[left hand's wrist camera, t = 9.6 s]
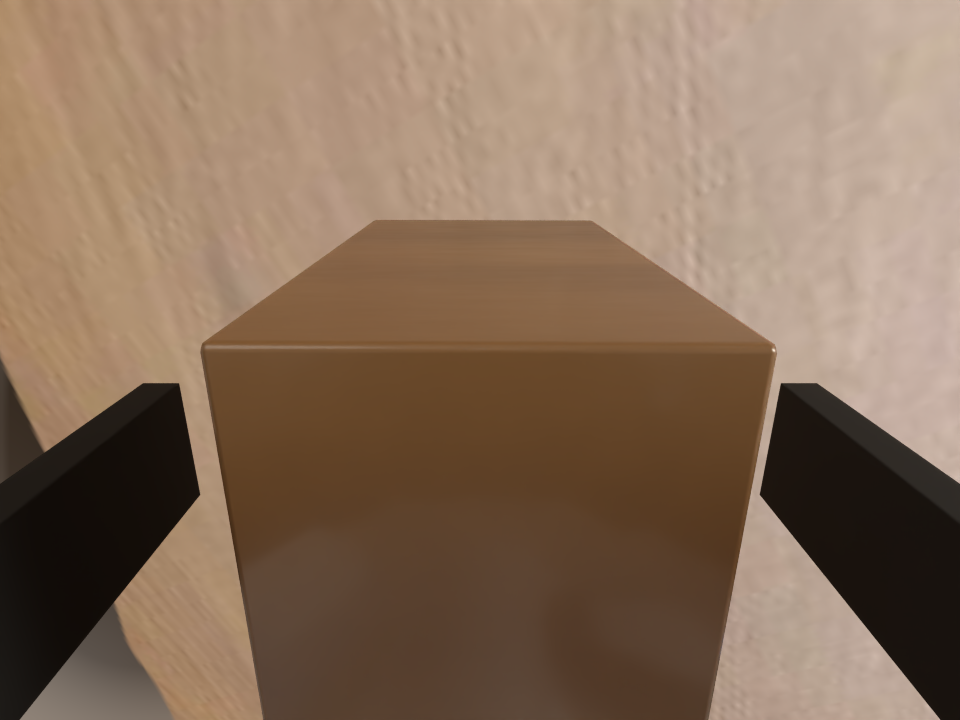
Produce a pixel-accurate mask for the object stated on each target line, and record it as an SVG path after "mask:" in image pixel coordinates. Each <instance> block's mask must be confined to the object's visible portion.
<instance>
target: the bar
mask: <svg viewBox="0 0 960 720" xmlns="http://www.w3.org/2000/svg"><path fill="white" fill-rule="evenodd" d="M776 355H777V352H776V347H775V344H773V343H772V342H770V341H769V340H767V339H766V338H764V337H763V336H761V335H760V334H758V333H757V332H755V331H754V330H753V329H751V328H750V327H748V326H747V325H745V324H744V323H742V322H741V321H739V320H738V319H736V318H735V317H733V316H732V315H730V314H729V313H727V312H726V311H724V310H723V309H721V308H720V307H719V306H717V305H716V304H714V303H713V302H711V301H710V300H708V299H707V298H705V297H704V296H702V295H701V294H699V293H698V292H696V291H695V290H693V289H692V288H690V287H689V286H687V285H686V284H685V283H683V282H682V281H680V280H679V279H677V278H676V277H674V276H673V275H671V274H670V273H668V272H667V271H665V270H664V269H662V268H661V267H659V266H658V265H656V264H655V263H653V262H652V261H651V260H649V259H648V258H646V257H645V256H643V255H642V254H640V253H639V252H637V251H636V250H634V249H633V248H631V247H630V246H628V245H627V244H625V243H624V242H622V241H621V240H620V239H618V238H617V237H615V236H614V235H612V234H611V233H609V232H608V231H606V230H605V229H603V228H602V227H600V226H599V225H597V224H596V223H594V222H593V221H510V220H375V221H373V222H372V223H370V224H369V225H368V226H366V227H365V228H363V229H362V230H361V231H359V232H358V233H356V234H355V235H354V236H352V237H351V238H349V239H348V240H347V241H345V242H344V243H342V244H341V245H340V246H338V247H337V248H335V249H334V250H333V251H331V252H330V253H328V254H327V255H326V256H324V257H323V258H321V259H320V260H319V261H317V262H316V263H314V264H313V265H311V266H310V267H309V268H307V269H306V270H304V271H303V272H302V273H300V274H299V275H297V276H296V277H295V278H293V279H292V280H290V281H289V282H288V283H286V284H285V285H283V286H282V287H281V288H279V289H278V290H276V291H275V292H274V293H272V294H271V295H269V296H268V297H267V298H265V299H264V300H262V301H261V302H260V303H258V304H257V305H255V306H254V307H253V308H251V309H250V310H248V311H247V312H245V313H244V314H243V315H241V316H240V317H238V318H237V319H236V320H234V321H233V322H231V323H230V324H229V325H227V326H226V327H224V328H223V329H222V330H220V331H219V332H217V333H216V334H215V335H213V336H212V337H210V338H209V339H208V340H206V341H205V342H203V343H202V346H201V358H202V364H203V369H204V375H205V381H206V387H207V393H208V399H209V404H210V410H211V416H212V422H213V428H214V434H215V439H216V445H217V451H218V457H219V463H220V469H221V475H222V480H223V486H224V492H225V498H226V504H227V510H228V515H229V521H230V527H231V533H232V539H233V545H234V550H235V556H236V562H237V568H238V574H239V580H240V585H241V591H242V597H243V603H244V609H245V615H246V621H247V626H248V632H249V638H250V644H251V650H252V656H253V661H254V667H255V673H256V679H257V685H258V691H259V696H260V702H261V708H262V714H263V720H708V718H709V713H710V707H711V702H712V697H713V691H714V686H715V680H716V675H717V670H718V664H719V659H720V654H721V648H722V643H723V638H724V632H725V627H726V622H727V616H728V611H729V606H730V600H731V595H732V590H733V584H734V579H735V574H736V568H737V563H738V558H739V552H740V547H741V542H742V536H743V531H744V526H745V520H746V515H747V510H748V504H749V499H750V494H751V488H752V483H753V478H754V472H755V467H756V462H757V456H758V451H759V446H760V440H761V435H762V430H763V424H764V419H765V413H766V408H767V403H768V397H769V392H770V387H771V381H772V376H773V371H774V365H775V360H776Z"/></svg>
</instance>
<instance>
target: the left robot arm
mask: <svg viewBox="0 0 960 720" xmlns="http://www.w3.org/2000/svg"><path fill="white" fill-rule="evenodd" d="M199 496H200V491H199V486H198V481H197V475H196V470H195V465H194V460H193V454H192V449H191V444H190V438H189V433H188V428H187V423H186V417H185V412H184V407H183V402H182V396H181V391H180V386H179V383H143V384H141V385H140V386H139V387H137V388H136V389H134V390H133V391H132V392H130V393H129V394H127V395H126V396H124V397H123V398H122V399H120V400H119V401H117V402H116V403H114V404H113V405H112V406H110V407H109V408H107V409H106V410H105V411H103V412H102V413H100V414H99V415H97V416H96V417H95V418H93V419H92V420H90V421H89V422H87V423H86V424H85V425H83V426H82V427H80V428H79V429H78V430H76V431H75V432H73V433H72V434H70V435H69V436H68V437H66V438H65V439H63V440H62V441H60V442H59V443H58V444H56V445H55V446H53V447H52V448H51V449H49V450H48V451H46V452H45V453H43V454H42V455H41V456H39V457H38V458H36V459H35V460H33V461H32V462H31V463H29V464H28V465H26V466H25V467H24V468H22V469H21V470H19V471H18V472H16V473H15V474H14V475H12V476H11V477H9V478H8V479H6V480H5V481H4V482H2V483H1V484H0V720H20V718H21V717H22V716H23V715H24V713H25V712H26V711H27V710H28V708H29V707H30V706H31V705H32V704H33V702H34V701H35V700H36V699H37V697H38V696H39V695H40V694H41V692H42V691H43V690H44V689H45V687H46V686H47V685H48V684H49V682H50V681H51V680H52V679H53V677H54V676H55V675H56V674H57V672H58V671H59V670H60V669H61V667H62V666H63V665H64V664H65V662H66V661H67V660H68V659H69V657H70V656H71V655H72V654H73V652H74V651H75V650H76V649H77V647H78V646H79V645H80V644H81V642H82V641H83V640H84V639H85V638H86V636H87V635H88V634H89V632H90V631H91V630H92V629H93V628H94V626H95V625H96V624H97V623H98V621H99V620H100V619H101V618H102V616H103V615H104V614H105V613H106V611H107V610H108V609H109V608H110V606H111V605H112V604H113V603H114V601H115V600H116V599H117V598H118V596H119V595H120V594H121V593H122V591H123V590H124V589H125V588H126V586H127V585H128V584H129V583H130V581H131V580H132V579H133V578H134V576H135V575H136V574H137V573H138V572H139V570H140V569H141V568H142V567H143V565H144V564H145V563H146V562H147V560H148V559H149V558H150V557H151V555H152V554H153V553H154V552H155V550H156V549H157V548H158V547H159V545H160V544H161V543H162V542H163V540H164V539H165V538H166V537H167V535H168V534H169V533H170V532H171V530H172V529H173V528H174V527H175V525H176V524H177V523H178V522H179V520H180V519H181V518H182V517H183V515H184V514H185V513H186V512H187V510H188V509H189V508H190V507H191V506H192V504H193V503H194V502H195V501H196V499H197V498H198V497H199ZM760 496H761V497H762V498H763V499H764V501H765V502H766V503H767V504H768V505H769V507H770V508H771V509H772V510H773V512H774V513H775V514H776V515H777V517H778V518H779V519H780V520H781V522H782V523H783V524H784V525H785V527H786V528H787V529H788V530H789V532H790V533H791V534H792V535H793V537H794V538H795V539H796V540H797V542H798V543H799V544H800V545H801V547H802V548H803V549H804V550H805V552H806V553H807V554H808V555H809V557H810V558H811V559H812V560H813V562H814V563H815V564H816V565H817V567H818V568H819V569H820V570H821V571H822V573H823V574H824V575H825V576H826V578H827V579H828V580H829V581H830V583H831V584H832V585H833V586H834V588H835V589H836V590H837V591H838V593H839V594H840V595H841V596H842V598H843V599H844V600H845V601H846V603H847V604H848V605H849V606H850V608H851V609H852V610H853V611H854V613H855V614H856V615H857V616H858V618H859V619H860V620H861V621H862V623H863V624H864V625H865V626H866V628H867V629H868V630H869V631H870V633H871V634H872V635H873V636H874V637H875V639H876V640H877V641H878V642H879V644H880V645H881V646H882V647H883V649H884V650H885V651H886V652H887V654H888V655H889V656H890V657H891V659H892V660H893V661H894V662H895V664H896V665H897V666H898V667H899V669H900V670H901V671H902V672H903V674H904V675H905V676H906V677H907V679H908V680H909V681H910V682H911V684H912V685H913V686H914V687H915V689H916V690H917V691H918V692H919V694H920V695H921V696H922V697H923V699H924V700H925V701H926V702H927V703H928V705H929V706H930V707H931V708H932V710H933V711H934V712H935V713H936V715H937V716H938V717H939V718H940V720H960V484H959V483H958V482H956V481H955V480H954V479H952V478H951V477H949V476H948V475H946V474H945V473H944V472H942V471H941V470H939V469H938V468H936V467H935V466H934V465H932V464H931V463H929V462H928V461H927V460H925V459H924V458H922V457H921V456H919V455H918V454H917V453H915V452H914V451H912V450H911V449H909V448H908V447H907V446H905V445H904V444H902V443H901V442H900V441H898V440H897V439H895V438H894V437H892V436H891V435H890V434H888V433H887V432H885V431H884V430H882V429H881V428H880V427H878V426H877V425H875V424H874V423H873V422H871V421H870V420H868V419H867V418H865V417H864V416H863V415H861V414H860V413H858V412H857V411H855V410H854V409H853V408H851V407H850V406H848V405H847V404H846V403H844V402H843V401H841V400H840V399H838V398H837V397H836V396H834V395H833V394H831V393H830V392H828V391H827V390H826V389H824V388H823V387H821V386H820V385H819V384H817V383H781V386H780V391H779V396H778V402H777V407H776V412H775V418H774V423H773V428H772V433H771V439H770V444H769V449H768V454H767V460H766V465H765V470H764V475H763V481H762V486H761V491H760Z"/></svg>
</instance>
